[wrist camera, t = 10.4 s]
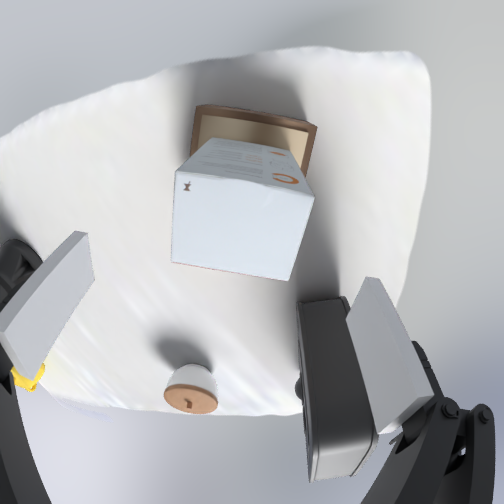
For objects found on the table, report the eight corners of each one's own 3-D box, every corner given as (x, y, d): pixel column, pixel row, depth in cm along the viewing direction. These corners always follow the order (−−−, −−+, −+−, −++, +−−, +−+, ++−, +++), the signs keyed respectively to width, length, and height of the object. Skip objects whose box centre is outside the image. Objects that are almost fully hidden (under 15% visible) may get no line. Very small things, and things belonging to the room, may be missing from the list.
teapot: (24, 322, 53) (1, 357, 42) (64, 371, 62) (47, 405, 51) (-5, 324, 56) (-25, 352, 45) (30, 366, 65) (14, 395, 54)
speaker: (334, 373, 55) (351, 481, 33) (294, 378, 56) (300, 488, 34) (341, 281, 42) (386, 432, 21) (285, 288, 43) (298, 447, 22)
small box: (202, 195, 29) (167, 263, 18) (211, 135, 26) (172, 168, 15) (279, 208, 30) (289, 284, 19) (293, 150, 27) (317, 193, 15)
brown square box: (195, 196, 36) (183, 216, 31) (207, 104, 30) (195, 106, 24) (287, 211, 37) (291, 234, 31) (307, 121, 31) (318, 127, 25)
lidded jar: (180, 384, 59) (173, 419, 51) (164, 356, 53) (153, 393, 45) (226, 385, 58) (222, 421, 50) (214, 356, 52) (208, 396, 44)
